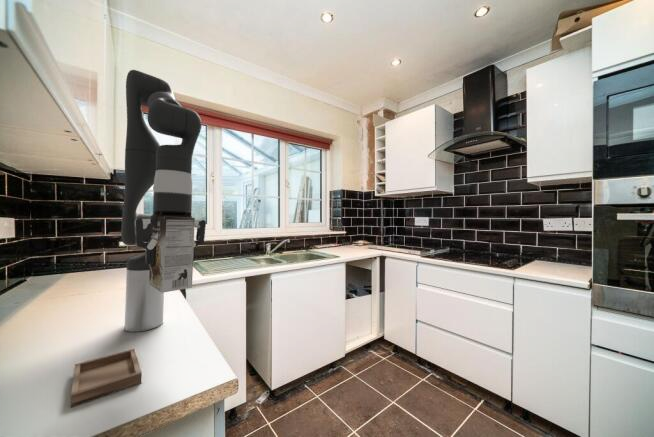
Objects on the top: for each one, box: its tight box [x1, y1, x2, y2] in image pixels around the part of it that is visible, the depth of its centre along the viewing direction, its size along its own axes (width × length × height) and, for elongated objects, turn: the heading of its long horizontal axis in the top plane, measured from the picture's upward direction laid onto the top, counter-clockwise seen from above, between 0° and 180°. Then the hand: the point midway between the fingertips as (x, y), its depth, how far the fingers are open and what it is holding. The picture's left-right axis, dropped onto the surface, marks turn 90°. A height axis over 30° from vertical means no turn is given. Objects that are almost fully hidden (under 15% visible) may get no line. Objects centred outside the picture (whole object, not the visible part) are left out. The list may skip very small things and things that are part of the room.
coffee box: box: [149, 216, 196, 294], centre depth 57 cm, size 9×6×16 cm
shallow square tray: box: [70, 348, 142, 408], centre depth 49 cm, size 12×10×2 cm
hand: (171, 264), depth 57 cm, fingers closed on coffee box, 7 cm apart
